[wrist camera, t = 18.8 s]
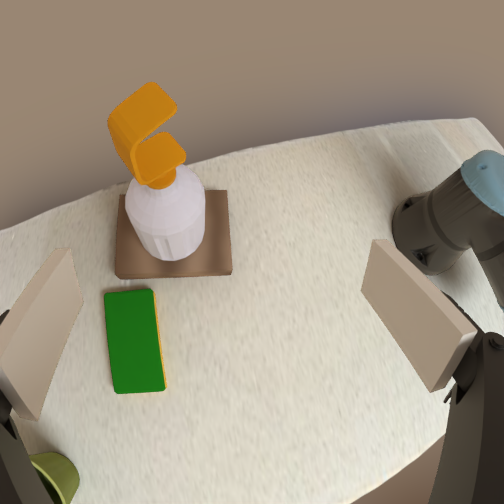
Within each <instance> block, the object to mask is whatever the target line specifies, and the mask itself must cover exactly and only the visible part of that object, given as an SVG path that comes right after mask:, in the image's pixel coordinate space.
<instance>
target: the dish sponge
mask: <svg viewBox="0 0 504 504" xmlns="http://www.w3.org/2000/svg"><path fill="white" fill-rule="evenodd" d="M104 305H105V319H106V330H107V340H108V349H109V358H110V365H111V372H112V379H113V386H114V392H116V393H117V394H127V393H145V392H159V391H164V390H165V389H166V388H167V383H166V377H165V370H164V364H163V357H162V349H161V342H160V334H159V326H158V317H157V308H156V298H155V293H154V292H153V290H151V289H142V290H132V291H122V292H112V293H106V294H105V295H104Z"/></svg>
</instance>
